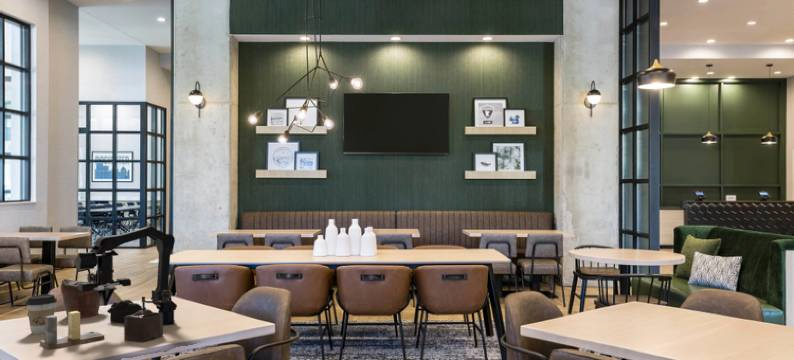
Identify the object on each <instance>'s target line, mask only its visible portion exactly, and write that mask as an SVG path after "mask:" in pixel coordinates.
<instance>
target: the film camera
mask: <svg viewBox="0 0 794 360" xmlns="http://www.w3.org/2000/svg"><path fill="white" fill-rule="evenodd" d="M145 309H147V307H145ZM140 310H142V305H140V304H139V303H137V302H135V303H134V302H133V301H132V300H131V299H122V300H120V301H119V302H117V301H115V302H113V303H112V304H111V305H110V307H109V308H108V310H106V312H107V313H108V314H110V316H109V317H110V319H109V321H110V323H116V324H124V317H125V316H128V315H132V314H135V313H136V312H138V311H140Z"/></svg>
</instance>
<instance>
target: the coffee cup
mask: <svg viewBox="0 0 794 360" xmlns="http://www.w3.org/2000/svg"><path fill="white" fill-rule="evenodd" d="M57 302H58V299H57V298H56V297H55V294H48V293H46V294H38V295H36V294H35V295H32V296H29V297H28V298H27V300H26V301H25V306H26V309H27V314H28V315H27V316H28V321H29V329H30V332H31V334H32V335H43V334H44V335H45V316H51V315H55V311H56V303H57Z"/></svg>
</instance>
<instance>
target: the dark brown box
mask: <svg viewBox="0 0 794 360" xmlns="http://www.w3.org/2000/svg"><path fill="white" fill-rule="evenodd" d="M162 295H163V299H162V301H152V300H146V297H145V296H141V306H142V310H140V311H138V312H136V313H135V314H132V315H128V316H125V317H124V323H123V328H124V330H123V331H124V332H123V337H124V338H123V340H124V341H128V342H135V343H136V342H137V343H145V342H148V341H152V340H156V339H157V338H160V337H162V336H164V331H163V330H164V328H163V327H164V325H163V313H158V312H155V311H152V310H151V309H148V308H146V305H145V304H153V303H163V302H164V303H165V302H167V301H169V298H170V296H171V297H172V295H173V292H172V291H171V290H164V291H163V292H162ZM145 308H146V309H145Z"/></svg>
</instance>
